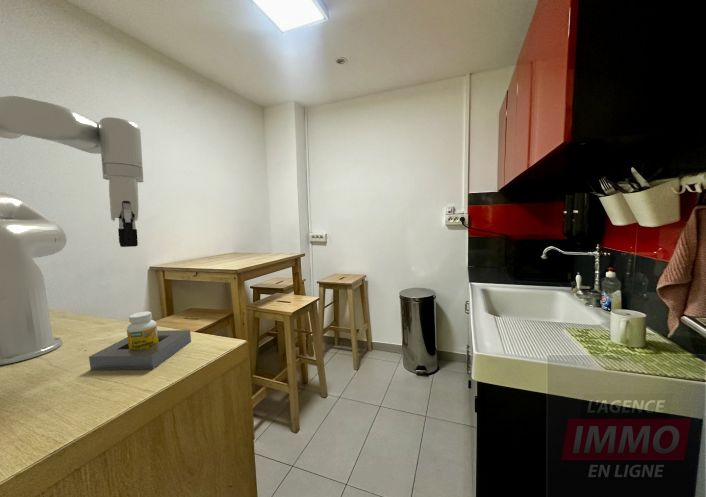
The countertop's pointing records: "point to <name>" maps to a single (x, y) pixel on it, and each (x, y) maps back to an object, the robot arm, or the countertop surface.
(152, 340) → the supplement bottle
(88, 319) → the countertop surface
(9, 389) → the countertop surface
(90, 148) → the robot arm
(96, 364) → the square hole block
